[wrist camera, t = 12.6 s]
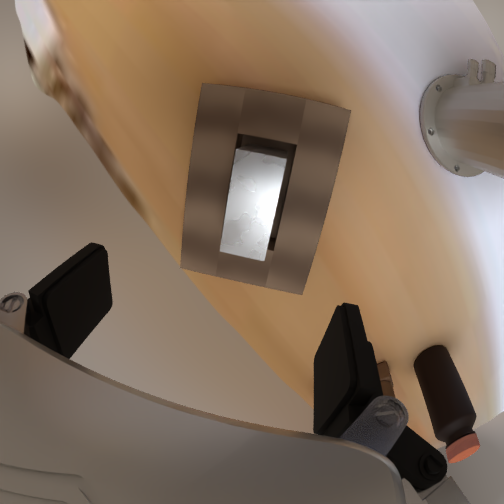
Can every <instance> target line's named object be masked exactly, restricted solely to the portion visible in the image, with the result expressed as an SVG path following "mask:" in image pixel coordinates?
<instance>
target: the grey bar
mask: <svg viewBox="0 0 504 504" xmlns="http://www.w3.org/2000/svg"><path fill="white" fill-rule="evenodd" d="M287 153H288V151H286V150H281V149H277V148H272V147H267V146H262V145H257V144H251V143H250V144H247V145H245V146H242V147H240V148H237V149H236V152H235V158H234V164H233V170H232V176H231V182H230V188H229V194H228V200H227V206H226V213H225V219H224V226H223V232H222V239H221V246H220V252H225V253H229V254H234V255H238V256H242V257H247V258H251V259H256V260H260V261H264V260H265V256H266V251H267V247H268V242H269V238H270V234H271V229H272V225H273V220H274V216H275V211H276V207H277V202H278V198H279V193H280V188H281V184H282V179H283V175H284V170H285V165H286V161H287Z"/></svg>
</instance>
